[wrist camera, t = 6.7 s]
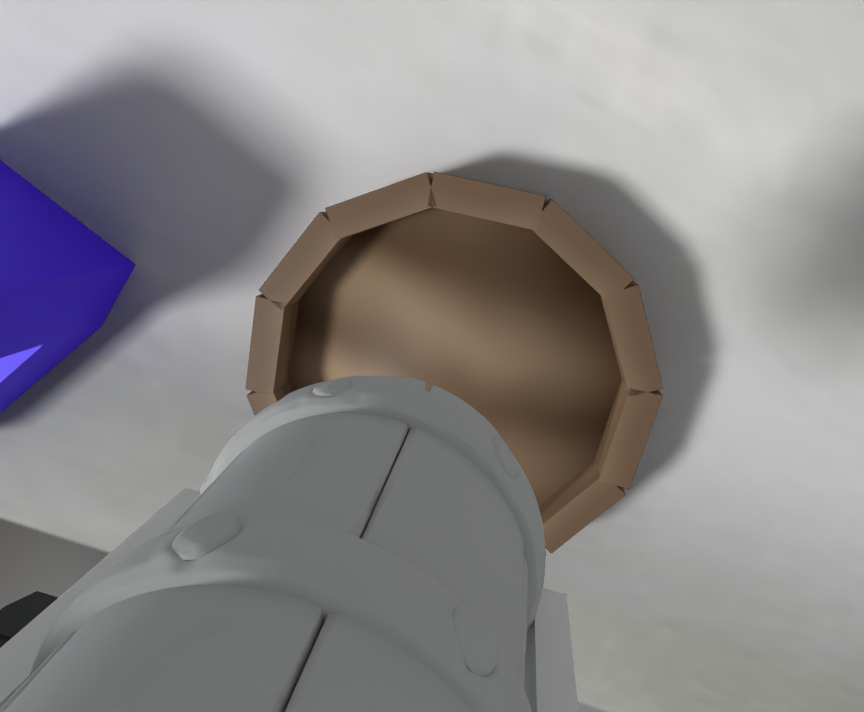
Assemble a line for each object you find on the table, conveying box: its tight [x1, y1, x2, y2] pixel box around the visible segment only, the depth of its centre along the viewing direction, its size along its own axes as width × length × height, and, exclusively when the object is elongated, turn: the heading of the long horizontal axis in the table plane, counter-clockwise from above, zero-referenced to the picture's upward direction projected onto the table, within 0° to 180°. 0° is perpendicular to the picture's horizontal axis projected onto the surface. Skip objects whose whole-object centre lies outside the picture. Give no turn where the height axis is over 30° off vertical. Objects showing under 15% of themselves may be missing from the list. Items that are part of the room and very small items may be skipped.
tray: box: [246, 172, 663, 556], centre depth 29 cm, size 20×20×3 cm
